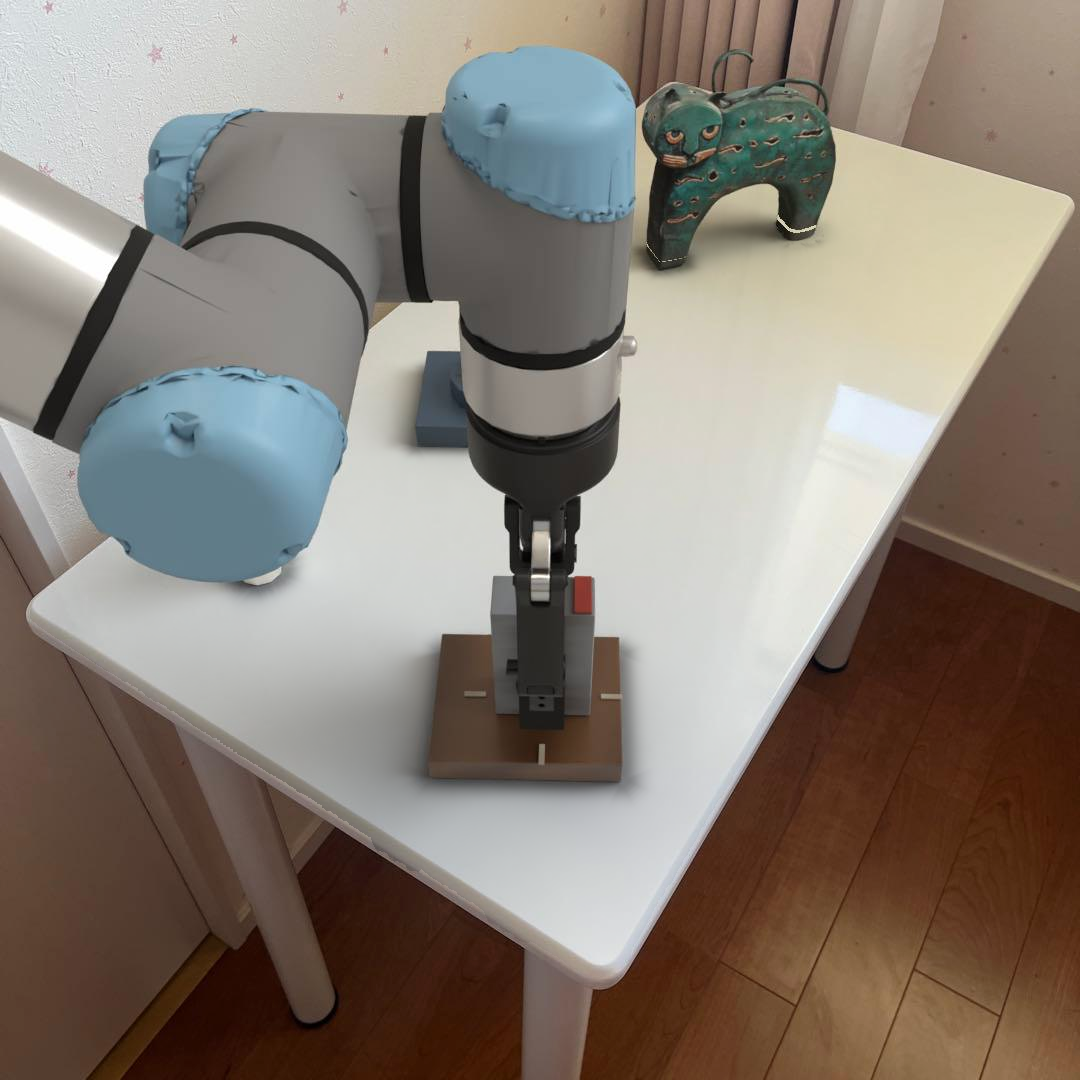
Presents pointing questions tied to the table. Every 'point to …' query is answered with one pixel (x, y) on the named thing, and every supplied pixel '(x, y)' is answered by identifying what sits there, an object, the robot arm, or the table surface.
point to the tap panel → (496, 739)
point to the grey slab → (575, 643)
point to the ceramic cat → (734, 157)
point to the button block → (442, 402)
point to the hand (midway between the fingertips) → (543, 678)
